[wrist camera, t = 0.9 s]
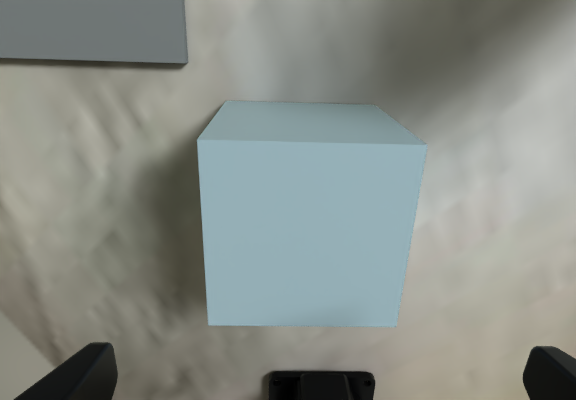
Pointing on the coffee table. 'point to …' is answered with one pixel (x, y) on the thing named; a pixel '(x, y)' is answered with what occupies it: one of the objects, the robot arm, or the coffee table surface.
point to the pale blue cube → (307, 213)
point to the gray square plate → (94, 30)
